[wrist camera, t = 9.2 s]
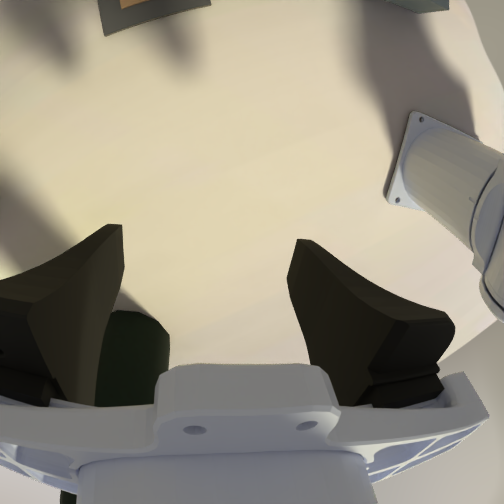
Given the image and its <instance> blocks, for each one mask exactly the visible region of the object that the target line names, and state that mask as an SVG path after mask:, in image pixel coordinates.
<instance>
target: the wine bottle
mask: <svg viewBox="0 0 504 504" xmlns="http://www.w3.org/2000/svg"><path fill="white" fill-rule="evenodd" d="M169 355H170V337H169V334H168V333H167V332H166V331H165V329H164V328H163V327H162V326H161V324H160V323H159V322H158V321H156V320H154V319H152V318H150V317H148V316H145V315H143V314H141V313H139V312H130V311H119V310H117V311H115V312H112V313H111V314H110V317H109V320H108V323H107V326H106V329H105V333H104V336H103V341H102V346H101V352H100V357H99V364H98V371H97V379H96V389H95V401H94V407H121V406H137V405H149V404H154V395H155V386H156V383H157V381H158V378H159V375H161V374H163V373H164V372H166V371H168V368H169ZM76 501H77V495H76V494H73V493H70V492H66V491H63V490H61V494H60V504H76Z"/></svg>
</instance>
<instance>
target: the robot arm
mask: <svg viewBox="0 0 504 504" xmlns="http://www.w3.org/2000/svg"><path fill="white" fill-rule="evenodd" d="M420 117H421V121H419V118H420ZM397 197H398V200H397V201H395V199H396V198H397ZM386 201H387V202H388V203H389V204H391V205H395V206H401V207H406V208H410V209H415V210H420V211H425V212H427V213H428V214H429V215H431V216H432V217H433V218H434V219H435V220H437V221H438V222H439V223H440V224H441V225H443V226H444V227H445V228H446V229H447V230H449V231H450V232H451V233H452V234H453V235H454V236H455V237H457V238H458V239H459V240H460V241H461V242H462V243H463V244H464V245H466V246H467V247H468V248H469V249H470V250H471V251H472V252H473V253H474V259H473V263H472V265H473V266H474V267H475V268H476V269H477V270H478V271H479V272H480V273H481V274H482V276H481V278H480V282H479V289H480V293H481V296H482V298H483V300H484V302H485V304H486V305H487V306H488V308H489V310H490V311H491V312H492V313H493V315H494V316H495V317H496V318H497V319H498V320H500V321H501V322H502V323H504V154H503V153H501V152H499V151H497V150H495V149H493V148H491V147H488V146H486V145H484V144H483V143H482V142H480V141H479V140H477V139H475V138H473V137H471V136H469V135H467V134H465V133H463V132H461V131H459V130H457V129H455V128H453V127H451V126H449V125H447V124H445V123H443V122H441V121H438V120H436V119H434V118H432V117H429V116H427V115H425V114H422V113H420V112H417V111H412V112H411V113H410V116H409V120H408V124H407V128H406V132H405V135H404V139H403V143H402V147H401V150H400V154H399V157H398V161H397V164H396V167H395V171H394V174H393V177H392V180H391V184H390V187H389V190H388V193H387V196H386ZM124 268H125V266H124V252H123V233H122V225H118V224H107V225H105V226H103V227H102V228H100V229H99V230H97V231H96V232H94V233H93V234H91V235H90V236H89V237H87V238H86V239H84V240H83V241H81V242H80V243H78V244H77V245H75V246H74V247H72V248H70V249H69V250H67V251H66V252H64V253H63V254H61V255H59V256H57V257H56V258H54V259H52V260H50V261H48V262H46V263H44V264H42V265H40V266H37V267H35V268H33V269H30V270H28V271H26V272H23V273H21V274H18V275H15V276H12V277H9V278H6V279H2V280H0V465H1V466H3V467H6V468H8V469H10V470H12V471H14V472H16V473H19V474H21V475H23V476H26V477H28V478H31V479H33V480H35V481H38V482H41V483H43V484H46V485H49V486H52V487H54V488H57V489H60V490H63V491H66V492H70V493H73V494H76V495H77V501H76V504H378V502H377V499H376V497H375V493H374V490H373V487H372V484H373V483H375V482H378V481H381V480H384V479H386V478H389V477H391V476H394V475H396V474H399V473H401V472H403V471H406V470H408V469H410V468H413V467H415V466H417V465H419V464H421V463H424V462H426V461H428V460H430V459H432V458H434V457H437V456H439V455H441V454H443V453H445V452H447V451H449V450H451V449H453V448H454V447H456V446H457V445H458V444H459V443H461V442H462V441H463V440H464V439H466V438H467V437H468V436H469V435H470V434H472V433H473V432H474V431H475V430H476V429H477V428H479V427H480V426H481V425H482V424H483V423H484V422H485V421H486V420H487V419H489V414H488V412H487V410H486V408H485V406H484V405H483V403H482V401H481V399H480V398H479V396H478V394H477V393H476V391H475V389H474V388H473V386H472V384H471V383H470V381H469V379H468V378H467V376H466V374H465V373H464V372H462V371H461V372H458V373H454V374H451V375H447V376H445V377H443V378H442V379H439V378H438V376H437V374H436V373H438V372H439V371H440V368H439V367H438V365H437V361H438V360H439V359H440V357H441V356H442V355H443V353H444V352H445V351H446V349H447V348H448V347H449V345H450V343H451V342H452V340H453V337H454V334H455V325H454V323H453V322H452V320H451V319H450V318H449V316H448V315H447V314H446V313H445V312H443V311H440V310H436V309H433V308H429V307H426V306H423V305H420V304H417V303H414V302H412V301H409V300H406V299H404V298H402V297H399V296H397V295H395V294H393V293H391V292H389V291H387V290H385V289H383V288H381V287H379V286H377V285H376V284H374V283H372V282H370V281H369V280H367V279H365V278H364V277H362V276H361V275H359V274H358V273H356V272H355V271H353V270H352V269H351V268H349V267H348V266H346V265H345V264H344V263H342V262H341V261H340V260H338V259H337V258H336V257H334V256H333V255H332V254H330V253H329V252H328V251H327V250H325V249H324V248H323V247H321V246H320V245H318V244H317V243H315V242H314V241H312V240H306V239H297V242H296V246H295V249H294V253H293V257H292V260H291V264H290V268H289V271H288V275H287V284H288V289H289V294H290V299H291V302H292V305H293V307H294V310H295V313H296V316H297V319H298V322H299V324H300V327H301V330H302V333H303V336H304V339H305V342H306V345H307V350H308V354H309V359H310V364H311V365H307V364H300V363H293V364H210V363H196V364H187V365H178V366H176V367H174V368H172V369H170V370H168V371H166V372H164V373H163V374H161V375H159V378H158V381H157V383H156V386H155V395H154V404H149V405H137V406H121V407H94V401H95V389H96V379H97V371H98V364H99V357H100V352H101V346H102V341H103V336H104V333H105V329H106V326H107V323H108V320H109V317H110V314H111V311H112V309H113V306H114V303H115V300H116V297H117V295H118V292H119V289H120V285H121V281H122V277H123V272H124Z"/></svg>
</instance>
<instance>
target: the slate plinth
mask: <svg viewBox="0 0 504 504" xmlns="http://www.w3.org/2000/svg"><path fill="white" fill-rule="evenodd" d="M384 1H387V2H390V3H393V4H396V5H398V6H401V7H404V8H406V9H409V10H411V11H414V12H416V13H419V14H421V13H428V12H436V11H445V10H449V0H384Z"/></svg>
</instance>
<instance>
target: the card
mask: <svg viewBox="0 0 504 504" xmlns="http://www.w3.org/2000/svg"><path fill="white" fill-rule="evenodd" d="M98 5H99V11H100V16H101V21H102V26H103V31H104V36H109V35H111V34H114V33H116V32H119V31H122V30H125V29H127V28H130V27H133V26H136V25H139V24H142V23H145V22H148V21H151V20H155V19H158V18H161V17H165V16H169V15H172V14H176V13H180V12H184V11H188V10H192V9H197V8H201V7H206V6H211V1H210V0H98Z"/></svg>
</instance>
